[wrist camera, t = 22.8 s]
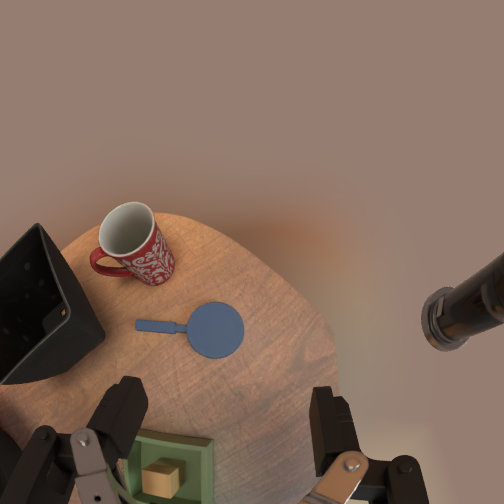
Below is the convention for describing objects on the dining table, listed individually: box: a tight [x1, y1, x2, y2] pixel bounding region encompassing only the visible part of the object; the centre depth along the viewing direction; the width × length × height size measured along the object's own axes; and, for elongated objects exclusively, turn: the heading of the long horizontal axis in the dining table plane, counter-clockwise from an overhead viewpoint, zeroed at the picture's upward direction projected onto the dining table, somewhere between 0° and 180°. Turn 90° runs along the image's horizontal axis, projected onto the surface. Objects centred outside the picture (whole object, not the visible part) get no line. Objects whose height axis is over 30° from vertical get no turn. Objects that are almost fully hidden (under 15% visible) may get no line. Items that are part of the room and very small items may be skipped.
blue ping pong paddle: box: [135, 302, 244, 358], centre depth 43 cm, size 18×9×1 cm, turn 89°
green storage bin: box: [123, 429, 214, 504], centre depth 30 cm, size 13×13×6 cm
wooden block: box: [142, 457, 186, 499], centre depth 29 cm, size 4×4×8 cm
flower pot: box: [0, 223, 105, 385], centre depth 36 cm, size 19×19×17 cm
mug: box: [90, 202, 175, 286], centre depth 42 cm, size 13×9×14 cm
